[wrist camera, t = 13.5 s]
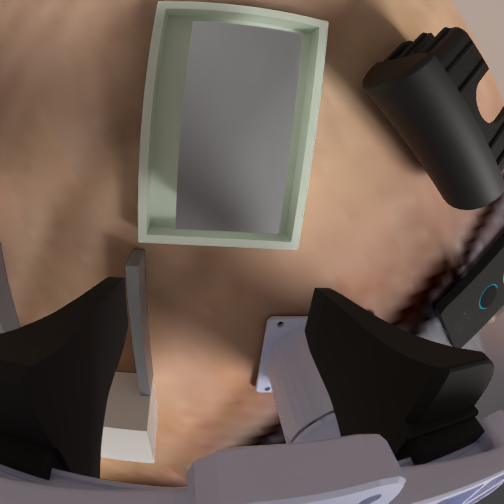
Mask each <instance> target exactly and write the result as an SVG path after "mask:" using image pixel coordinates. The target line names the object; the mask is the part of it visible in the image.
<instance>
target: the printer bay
mask: <svg viewBox="0 0 504 504" xmlns="http://www.w3.org/2000/svg"><path fill="white" fill-rule="evenodd" d="M125 271H126V285H127V297H128V308H129V318H130V327H131V336H132V344H133V351H134V358H135V365H136V372H137V373H127V372H115V375H114V378H113V381H112V385H111V388H110V391H109V395H108V399H107V405H106V412H105V418H104V426H103V435H102V444H101V457H103V458H110V459H117V460H125V461H134V462H144V463H155V445H156V430H157V416H158V408H157V401H156V393H155V385H154V377H153V368H152V359H151V349H150V338H149V325H148V311H147V294H146V271H145V250H137V249H133V251H132V253H131V255H130V257H129V259H128V261H127V263H126V265H125ZM18 328H20V325H19V321H18V318H17V315H16V311H15V307H14V304H13V300H12V296H11V292H10V288H9V284H8V279H7V275H6V270H5V265H4V260H3V255H2V249H1V243H0V334H1V333H5V332H8V331H11V330H15V329H18Z"/></svg>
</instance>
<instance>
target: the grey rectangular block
mask: <svg viewBox="0 0 504 504" xmlns="http://www.w3.org/2000/svg"><path fill="white" fill-rule="evenodd" d="M302 40H303V34H300V33H295V32H289V31H284V30H278V29H272V28H265V27H258V26H251V25H242V24H233V23H222V22H207V21H193V26H192V33H191V40H190V47H189V55H188V63H187V71H186V80H185V89H184V99H183V109H182V120H181V132H180V145H179V160H178V177H177V197H176V226H175V229H188V230H210V231H231V232H251V233H270V234H279V228H280V221H281V214H282V207H283V199H284V192H285V184H286V177H287V169H288V161H289V153H290V145H291V137H292V129H293V121H294V112H295V104H296V95H297V86H298V77H299V68H300V59H301V50H302Z"/></svg>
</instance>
